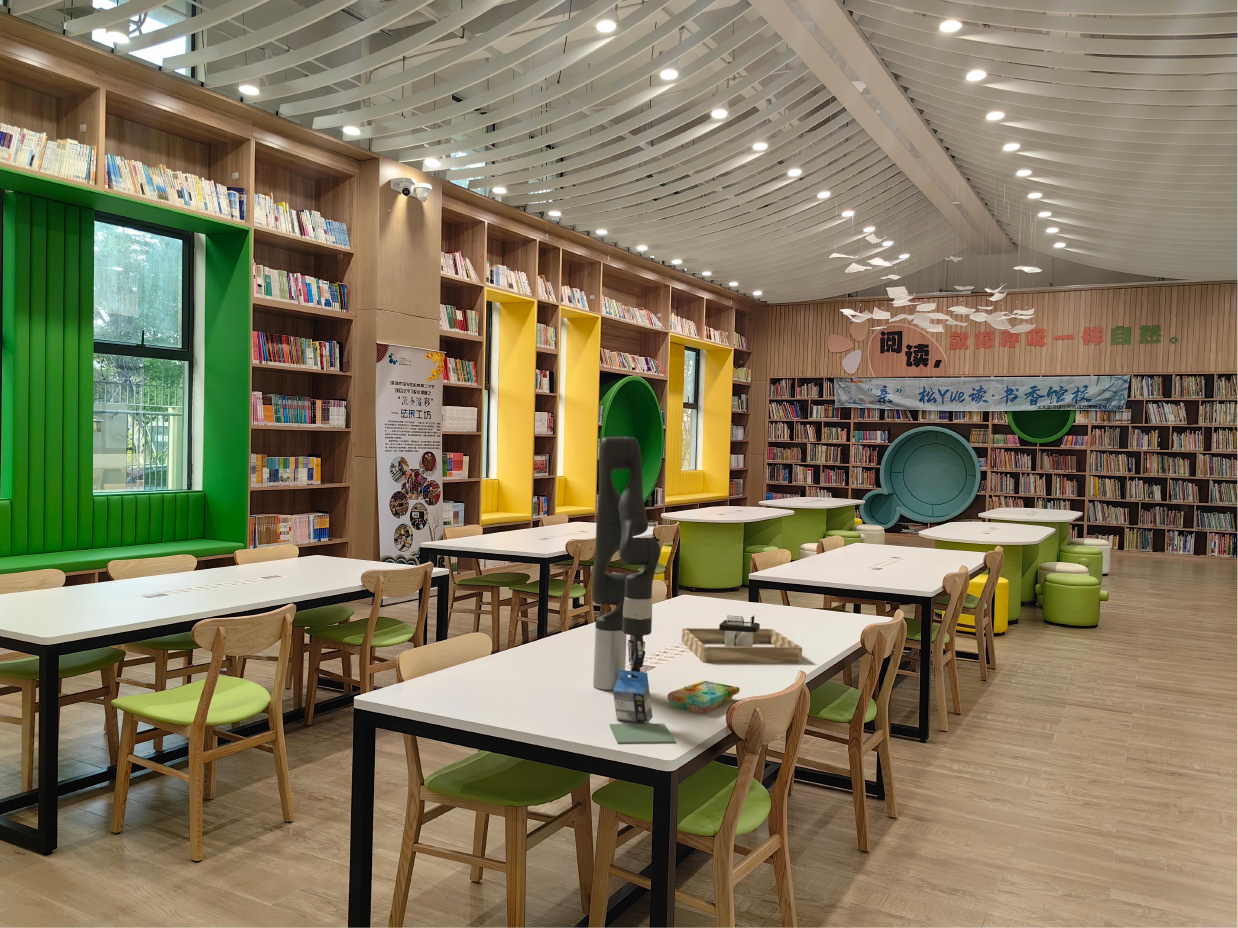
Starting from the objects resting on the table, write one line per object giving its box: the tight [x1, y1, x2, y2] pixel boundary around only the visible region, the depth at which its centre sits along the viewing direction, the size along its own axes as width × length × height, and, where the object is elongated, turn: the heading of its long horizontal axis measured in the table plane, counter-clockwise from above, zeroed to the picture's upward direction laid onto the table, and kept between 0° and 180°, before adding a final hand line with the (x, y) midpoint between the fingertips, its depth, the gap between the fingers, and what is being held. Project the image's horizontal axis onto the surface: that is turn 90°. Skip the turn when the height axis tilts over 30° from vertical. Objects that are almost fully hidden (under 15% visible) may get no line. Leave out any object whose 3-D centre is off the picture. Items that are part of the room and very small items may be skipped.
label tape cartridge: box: [612, 669, 653, 724], centre depth 229 cm, size 9×4×12 cm, turn 63°
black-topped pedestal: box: [718, 614, 761, 647], centre depth 319 cm, size 28×26×13 cm
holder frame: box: [681, 627, 803, 663], centre depth 318 cm, size 32×34×5 cm
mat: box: [609, 723, 677, 745], centre depth 220 cm, size 14×14×1 cm
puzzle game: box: [667, 680, 741, 714], centre depth 250 cm, size 12×5×20 cm
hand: (635, 681), depth 232 cm, fingers closed
